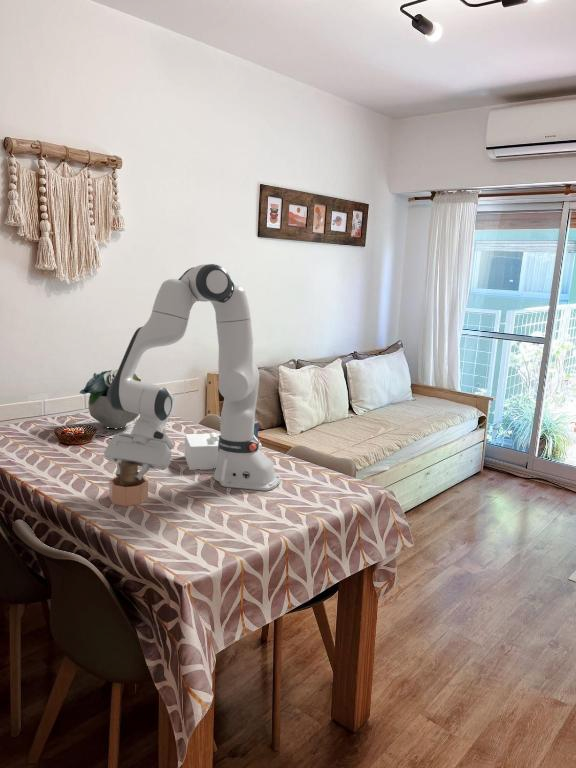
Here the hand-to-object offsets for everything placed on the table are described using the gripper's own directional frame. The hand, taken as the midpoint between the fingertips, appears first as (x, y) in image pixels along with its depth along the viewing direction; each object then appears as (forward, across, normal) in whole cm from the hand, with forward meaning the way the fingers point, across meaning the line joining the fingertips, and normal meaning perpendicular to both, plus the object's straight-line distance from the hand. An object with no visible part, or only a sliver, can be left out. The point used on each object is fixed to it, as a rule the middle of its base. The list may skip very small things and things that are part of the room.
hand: (127, 477), depth 173 cm
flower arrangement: (-39, -44, +49) cm, 77 cm away
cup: (+4, 0, +5) cm, 7 cm away
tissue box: (-26, +12, +36) cm, 46 cm away
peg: (+3, 0, +4) cm, 4 cm away
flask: (-42, +14, +52) cm, 68 cm away
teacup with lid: (-33, -20, +43) cm, 58 cm away
